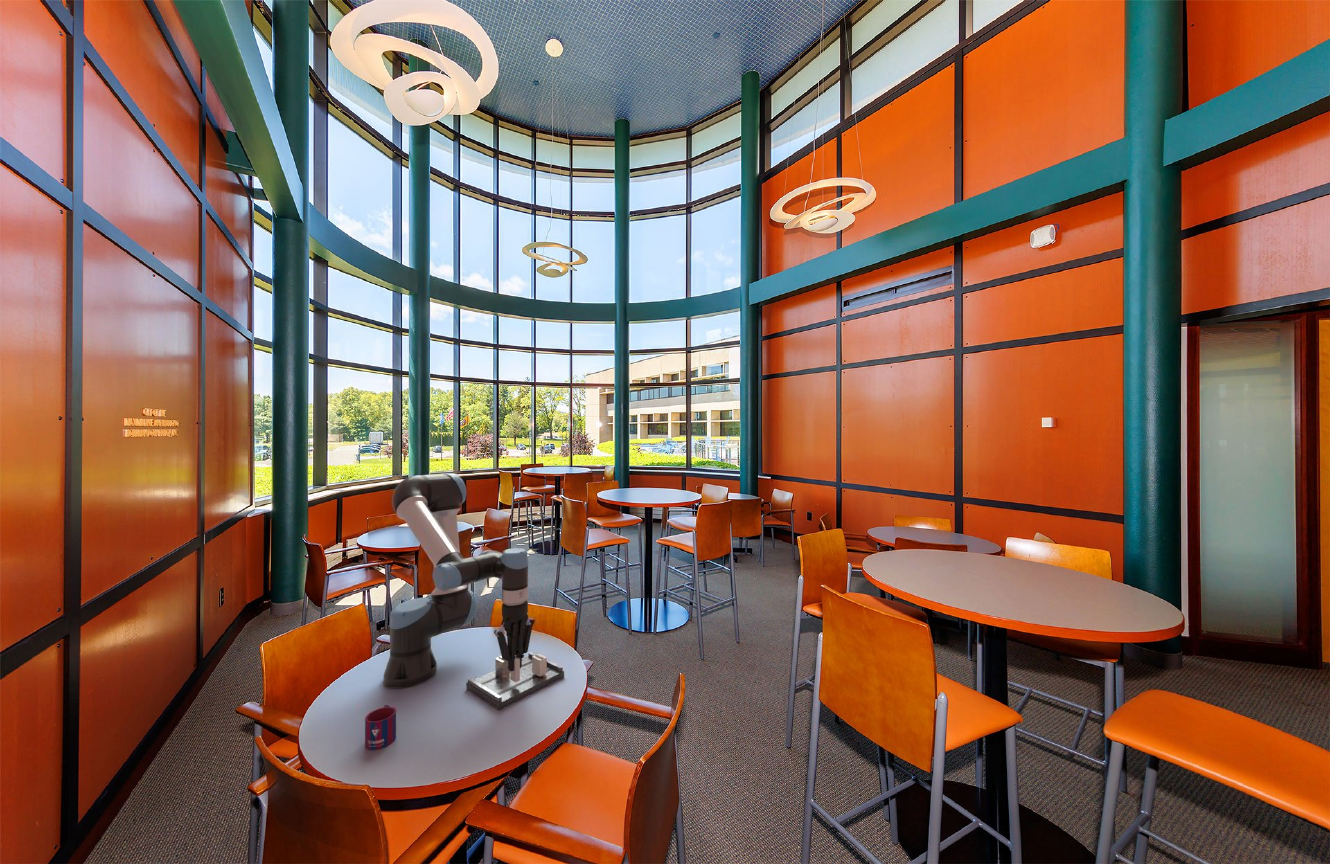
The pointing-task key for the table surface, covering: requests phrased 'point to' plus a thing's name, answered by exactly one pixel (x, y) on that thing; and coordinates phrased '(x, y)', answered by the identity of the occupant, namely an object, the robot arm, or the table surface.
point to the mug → (380, 728)
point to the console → (512, 682)
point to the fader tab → (539, 665)
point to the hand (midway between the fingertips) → (515, 679)
